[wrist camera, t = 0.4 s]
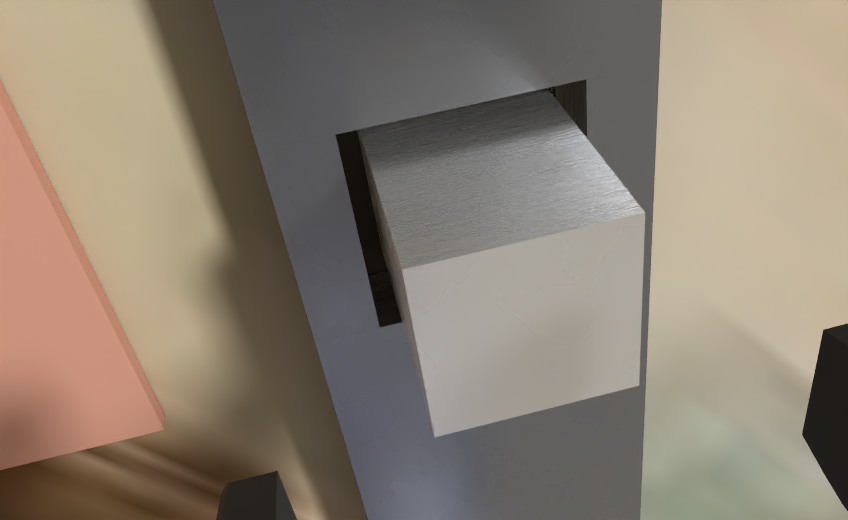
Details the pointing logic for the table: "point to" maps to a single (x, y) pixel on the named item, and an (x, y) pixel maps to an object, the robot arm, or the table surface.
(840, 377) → the robot arm
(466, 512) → the block
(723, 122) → the table surface
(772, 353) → the table surface
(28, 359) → the mat
